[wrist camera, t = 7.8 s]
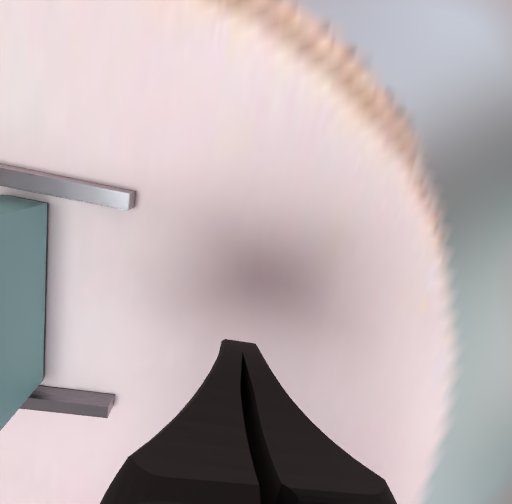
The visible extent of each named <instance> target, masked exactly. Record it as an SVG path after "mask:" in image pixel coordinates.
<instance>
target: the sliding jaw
mask: <svg viewBox="0 0 512 504" xmlns="http://www.w3.org/2000/svg"><path fill="white" fill-rule="evenodd" d="M46 237H47V203H43V202H38V201H33V200H28V199H22V198H17V197H12V196H7V195H0V430H1V429H2V428H3V427H4V426H5V425H6V423H7V422H8V421H9V420H10V419H11V417H12V416H13V415H14V414H15V413H16V411H17V410H18V409H19V408H20V407H21V406H22V404H23V403H24V402H25V401H26V400H27V398H28V397H29V396H30V395H31V394H32V392H33V391H34V390H35V389H36V388H37V387H38V385H39V384H40V383H41V382H42V381H43V364H44V322H45V280H46Z"/></svg>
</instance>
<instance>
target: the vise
mask: <svg viewBox="0 0 512 504" xmlns="http://www.w3.org/2000/svg"><path fill="white" fill-rule="evenodd" d="M0 186H4V187H10V188H15V189H20V190H25V191H30V192H35V193H40V194H45V195H51V196H56V197H61V198H66V199H71V200H76V201H81V202H87V203H92V204H97V205H102V206H107V207H112V208H117V209H123V210H130V209H132V208H134V204H135V194H136V191H132V190H127V189H122V188H117V187H112V186H107V185H102V184H97V183H92V182H87V181H83V180H78V179H73V178H68V177H63V176H58V175H53V174H48V173H43V172H38V171H33V170H28V169H24V168H19V167H14V166H9V165H4V164H0ZM113 404H114V395H113V394H104V393H96V392H88V391H79V390H71V389H62V388H54V387H46V386H38V387H37V388H36V389H35V390H34V391H33V392H32V394H31V395H30V396H29V397H28V398H27V400H26V401H25V402H24V403H23V404H22V406H21V407H20V409H30V410H39V411H48V412H57V413H66V414H75V415H84V416H94V417H103V418H108V416H109V413H110V411H111V409H112V407H113Z"/></svg>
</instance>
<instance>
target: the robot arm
mask: <svg viewBox="0 0 512 504" xmlns="http://www.w3.org/2000/svg"><path fill="white" fill-rule="evenodd" d="M100 504H397V503H396V501H395V499H394V496H393V495H392V493H391V491H390V489H389V487H388V485H387V483H386V481H385V480H384V479H383V478H381V477H380V476H378V475H377V474H375V473H374V472H373V471H371V470H370V469H368V468H367V467H365V466H364V465H362V464H361V463H360V462H358V461H357V460H355V459H354V458H353V457H351V456H350V455H349V454H348V453H346V452H345V451H344V450H343V449H341V448H340V447H339V446H338V445H336V444H335V443H334V442H333V441H332V440H331V439H329V438H328V437H327V436H326V435H325V434H324V433H323V432H322V431H321V430H320V429H319V428H318V427H317V426H315V425H314V424H313V423H312V422H311V421H310V420H309V419H308V417H307V416H306V415H305V414H304V413H303V412H302V411H301V410H300V409H299V408H298V406H297V405H296V404H295V403H294V402H293V401H292V399H291V398H290V397H289V396H288V394H287V393H286V392H285V390H284V389H283V387H282V386H281V385H280V383H279V382H278V380H277V379H276V377H275V376H274V374H273V373H272V371H271V369H270V368H269V366H268V364H267V363H266V361H265V359H264V358H263V356H262V354H261V352H260V350H259V349H258V347H257V345H256V344H254V343H247V342H241V341H234V340H227V339H225V340H223V341H222V342H221V347H220V351H219V355H218V357H217V359H216V361H215V363H214V365H213V367H212V369H211V371H210V373H209V374H208V376H207V377H206V379H205V380H204V382H203V384H202V385H201V387H200V388H199V389H198V391H197V392H196V393H195V395H194V396H193V397H192V399H191V400H190V401H189V402H188V403H187V405H186V406H185V407H184V408H183V409H182V410H181V411H180V413H179V414H178V415H177V416H176V417H175V418H174V419H173V420H172V421H171V422H170V423H169V424H168V425H167V426H165V427H164V428H163V429H162V430H161V431H160V432H159V433H158V434H157V435H156V436H155V437H153V438H152V439H151V440H150V441H149V442H147V443H146V444H145V445H143V446H142V447H141V448H139V449H138V450H137V451H136V452H134V453H133V454H132V455H130V456H129V457H128V458H127V460H126V461H125V463H124V464H123V466H122V467H121V469H120V470H119V472H118V473H117V475H116V476H115V478H114V480H113V481H112V483H111V484H110V486H109V488H108V490H107V491H106V493H105V495H104V497H103V499H102V501H101V503H100Z"/></svg>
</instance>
